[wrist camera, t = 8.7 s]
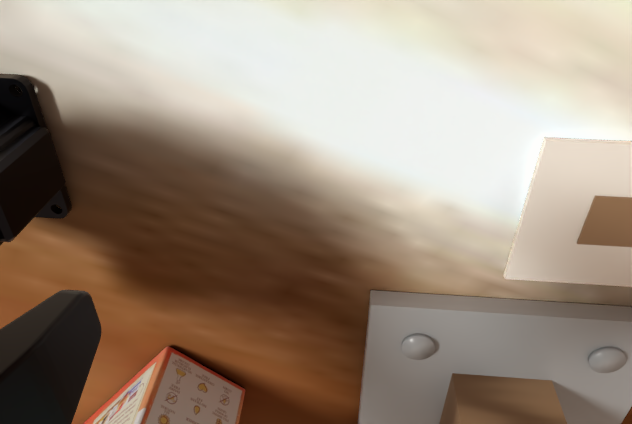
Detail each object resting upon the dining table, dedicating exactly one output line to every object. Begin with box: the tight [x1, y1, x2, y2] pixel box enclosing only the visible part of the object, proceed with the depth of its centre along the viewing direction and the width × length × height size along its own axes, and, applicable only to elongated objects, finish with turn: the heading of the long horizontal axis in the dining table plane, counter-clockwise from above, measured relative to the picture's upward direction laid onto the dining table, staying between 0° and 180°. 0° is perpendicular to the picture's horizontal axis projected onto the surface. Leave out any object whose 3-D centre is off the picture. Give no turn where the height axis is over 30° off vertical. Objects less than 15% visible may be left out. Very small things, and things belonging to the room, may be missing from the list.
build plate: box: [358, 290, 632, 424], centre depth 28 cm, size 14×14×1 cm
